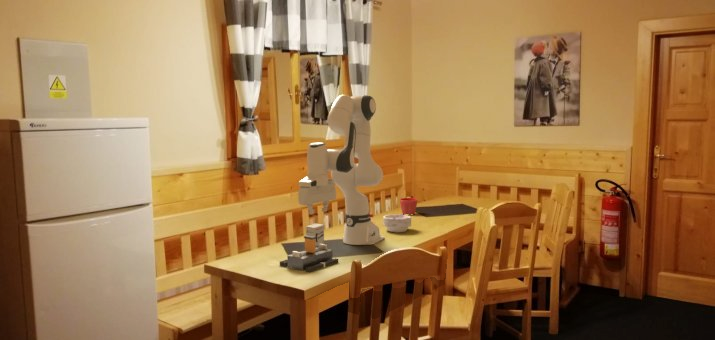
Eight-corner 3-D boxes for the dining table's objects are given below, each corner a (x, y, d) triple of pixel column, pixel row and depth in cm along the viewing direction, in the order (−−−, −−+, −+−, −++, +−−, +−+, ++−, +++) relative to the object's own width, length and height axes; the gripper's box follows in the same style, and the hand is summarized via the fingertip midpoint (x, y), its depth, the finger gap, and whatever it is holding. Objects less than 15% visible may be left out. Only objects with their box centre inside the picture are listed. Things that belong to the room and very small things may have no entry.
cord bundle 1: (309, 256, 244) (309, 252, 244) (315, 257, 242) (315, 253, 241) (279, 265, 230) (279, 261, 230) (285, 266, 228) (285, 262, 228)
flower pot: (412, 216, 334) (412, 201, 333) (396, 215, 340) (396, 199, 339) (420, 213, 343) (420, 198, 342) (404, 212, 349) (404, 197, 348)
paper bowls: (404, 227, 305) (404, 212, 304) (415, 232, 290) (415, 217, 289) (379, 229, 300) (379, 214, 299) (389, 234, 286) (389, 219, 285)
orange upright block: (307, 250, 233) (307, 235, 232) (316, 251, 230) (315, 236, 229) (304, 251, 231) (303, 236, 231) (312, 252, 228) (312, 237, 228)
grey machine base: (317, 258, 241) (316, 242, 240) (332, 261, 235) (332, 245, 235) (287, 267, 227) (287, 250, 226) (303, 271, 221) (302, 254, 221)
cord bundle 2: (334, 261, 234) (334, 257, 234) (338, 262, 233) (338, 258, 233) (305, 271, 221) (305, 267, 220) (309, 272, 219) (309, 268, 219)
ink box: (314, 252, 250) (314, 227, 249) (305, 251, 253) (305, 226, 252) (324, 248, 258) (324, 223, 257) (315, 247, 260) (315, 223, 259)
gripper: (328, 177, 242) (329, 208, 243) (295, 182, 226) (296, 215, 227) (339, 178, 238) (339, 210, 239) (306, 183, 222) (307, 217, 223)
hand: (318, 212), depth 233 cm, fingers open, 6 cm apart
